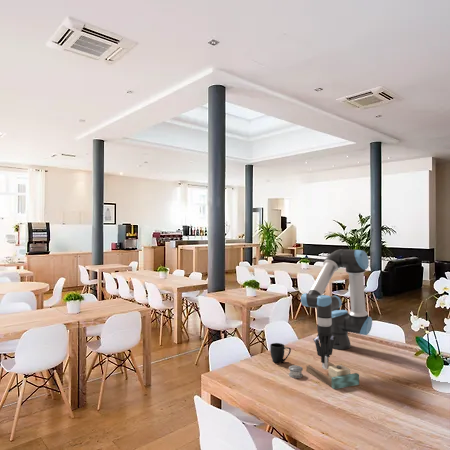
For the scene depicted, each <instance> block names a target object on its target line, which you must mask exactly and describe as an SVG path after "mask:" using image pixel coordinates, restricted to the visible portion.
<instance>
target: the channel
mask: <svg viewBox="0 0 450 450" xmlns="http://www.w3.org/2000/svg"><path fill="white" fill-rule="evenodd" d="M335 365H336V364H334V363H332V362H330V361H329V362H328V367H329V366H335ZM305 369H306V370H305V371H306V372H307V373H308V374H311V375H312V376H313V377H315V378H316V379H318V380H319V381H320V382H322V383H324V384H325V385H327V386H328V387H330V388H331V389H333V390H338V389H343V388H349V387H353V386H359V385H360V374H359V373H358V372H355V373H350V374H348V375H342V376H336V377H331V378H330V377H328V375H327V374H324V373H323V372H321V371H319V369H317V368H315V367H313V366H311V365H310V364H308V365H306V366H305Z"/></svg>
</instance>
